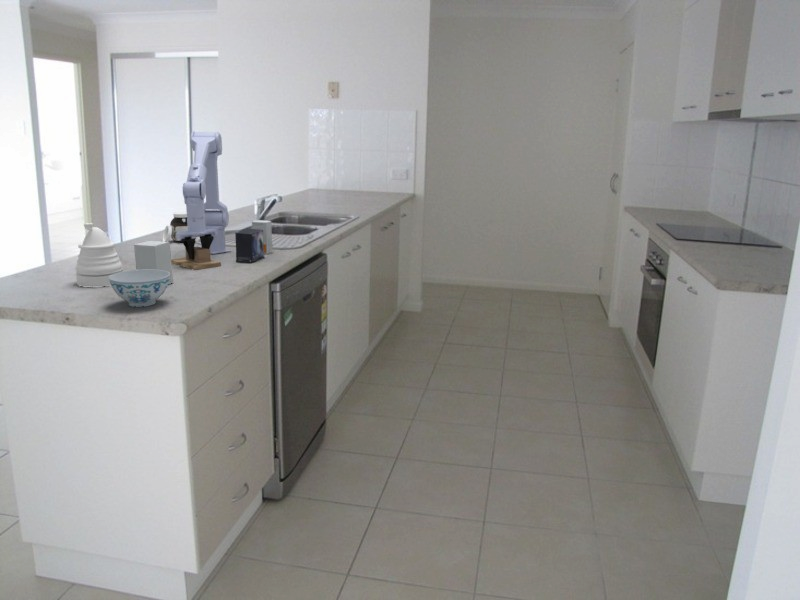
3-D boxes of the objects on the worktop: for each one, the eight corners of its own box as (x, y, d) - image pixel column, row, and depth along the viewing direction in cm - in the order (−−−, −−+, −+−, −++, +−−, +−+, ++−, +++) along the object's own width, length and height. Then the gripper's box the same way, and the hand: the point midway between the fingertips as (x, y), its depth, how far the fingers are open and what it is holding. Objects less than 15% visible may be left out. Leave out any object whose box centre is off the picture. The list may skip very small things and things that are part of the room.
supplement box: (174, 283, 199) (171, 241, 195) (157, 288, 192) (154, 245, 189) (153, 281, 201) (150, 240, 198) (136, 286, 194) (133, 243, 191)
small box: (253, 263, 228) (251, 233, 226) (235, 262, 230) (234, 232, 227) (265, 257, 238) (264, 228, 236) (248, 256, 240) (246, 228, 237)
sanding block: (186, 261, 224) (185, 248, 223) (198, 259, 228) (197, 246, 226) (199, 264, 219) (198, 251, 218) (210, 262, 222) (210, 249, 221)
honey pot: (94, 289, 190) (87, 227, 185) (68, 283, 196) (61, 223, 192) (133, 281, 200) (127, 222, 196) (106, 276, 207) (101, 218, 202)
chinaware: (129, 295, 184) (126, 268, 182) (181, 297, 183) (179, 270, 181) (100, 309, 170) (97, 280, 168) (156, 312, 168) (154, 282, 166)
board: (169, 263, 227) (168, 259, 227) (195, 259, 234) (195, 255, 234) (194, 270, 217) (194, 266, 216) (220, 265, 224) (220, 262, 223)
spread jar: (200, 241, 268) (198, 213, 265) (177, 245, 259) (175, 216, 256) (180, 238, 274) (178, 210, 271) (157, 242, 265) (155, 213, 262)
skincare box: (252, 253, 246) (251, 221, 243) (258, 251, 250) (256, 219, 247) (267, 254, 244) (266, 222, 241) (272, 252, 248) (271, 220, 245)
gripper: (182, 221, 212) (185, 262, 215) (221, 217, 222) (223, 256, 226) (171, 218, 216) (174, 259, 220) (210, 215, 227) (212, 254, 230)
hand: (198, 258), depth 223 cm, fingers closed on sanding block, 4 cm apart
